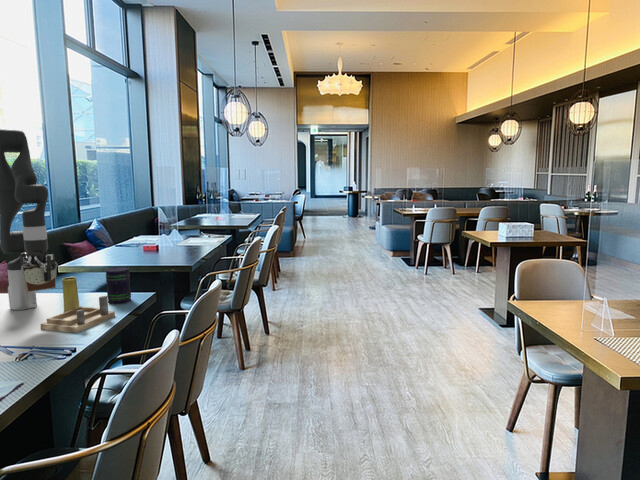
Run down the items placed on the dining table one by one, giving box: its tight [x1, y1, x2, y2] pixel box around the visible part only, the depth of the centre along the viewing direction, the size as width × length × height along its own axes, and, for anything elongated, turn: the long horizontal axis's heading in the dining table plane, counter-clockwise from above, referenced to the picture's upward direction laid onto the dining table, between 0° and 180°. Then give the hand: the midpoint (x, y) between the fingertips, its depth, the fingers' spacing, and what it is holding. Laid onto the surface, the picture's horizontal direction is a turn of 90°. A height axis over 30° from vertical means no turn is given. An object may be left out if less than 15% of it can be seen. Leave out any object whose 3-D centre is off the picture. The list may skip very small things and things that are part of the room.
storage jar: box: [105, 266, 132, 305], centre depth 203 cm, size 10×10×15 cm
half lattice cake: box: [21, 261, 59, 292], centre depth 172 cm, size 12×6×10 cm, turn 136°
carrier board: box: [39, 295, 116, 334], centre depth 174 cm, size 16×20×9 cm
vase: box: [61, 276, 80, 313], centre depth 188 cm, size 6×6×14 cm
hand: (39, 280), depth 172 cm, fingers closed on half lattice cake, 7 cm apart
